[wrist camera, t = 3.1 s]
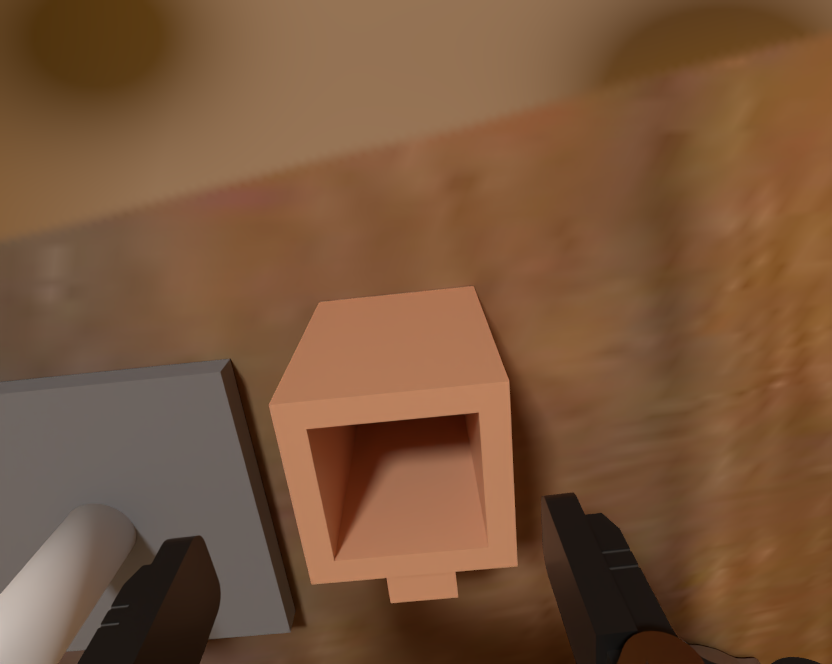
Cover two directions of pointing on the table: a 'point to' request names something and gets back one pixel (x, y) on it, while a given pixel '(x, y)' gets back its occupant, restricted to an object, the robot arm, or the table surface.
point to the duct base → (127, 501)
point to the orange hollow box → (399, 442)
